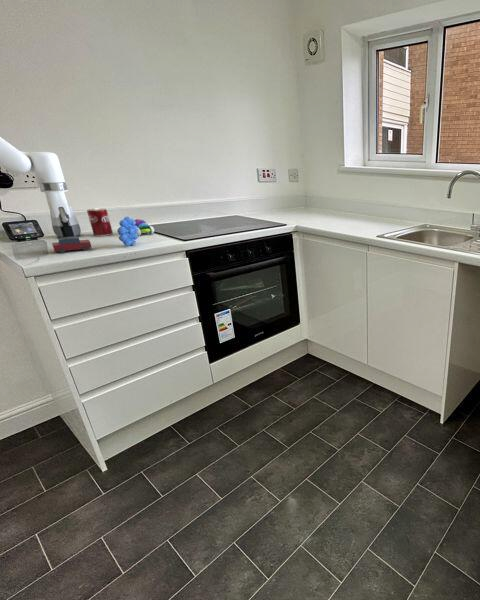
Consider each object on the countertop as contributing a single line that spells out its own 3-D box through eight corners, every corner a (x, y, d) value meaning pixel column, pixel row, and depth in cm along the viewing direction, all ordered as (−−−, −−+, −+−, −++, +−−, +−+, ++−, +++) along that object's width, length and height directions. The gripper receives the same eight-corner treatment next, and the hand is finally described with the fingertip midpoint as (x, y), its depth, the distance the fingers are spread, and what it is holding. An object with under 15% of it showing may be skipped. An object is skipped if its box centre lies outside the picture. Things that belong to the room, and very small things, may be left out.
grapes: (129, 242, 155) (122, 214, 151) (145, 242, 156) (139, 215, 151) (112, 248, 144) (104, 218, 140) (130, 248, 145) (122, 219, 141)
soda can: (112, 233, 172) (106, 208, 168) (113, 235, 167) (106, 209, 163) (93, 234, 168) (86, 208, 163) (94, 237, 163) (86, 210, 158)
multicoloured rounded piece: (147, 231, 178) (143, 217, 175) (157, 234, 173) (154, 219, 170) (128, 234, 171) (124, 219, 168) (138, 236, 166) (134, 221, 164)
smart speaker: (55, 235, 162) (45, 204, 157) (81, 233, 168) (72, 204, 163) (55, 239, 155) (45, 207, 150) (83, 237, 161) (73, 206, 156)
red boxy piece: (54, 250, 138) (55, 253, 134) (50, 238, 136) (51, 240, 132) (90, 247, 145) (92, 249, 141) (87, 235, 143) (89, 237, 139)
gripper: (38, 186, 133) (53, 234, 139) (41, 189, 123) (57, 240, 130) (64, 186, 138) (78, 232, 144) (69, 188, 128) (84, 238, 135)
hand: (68, 236), depth 137 cm, fingers closed
